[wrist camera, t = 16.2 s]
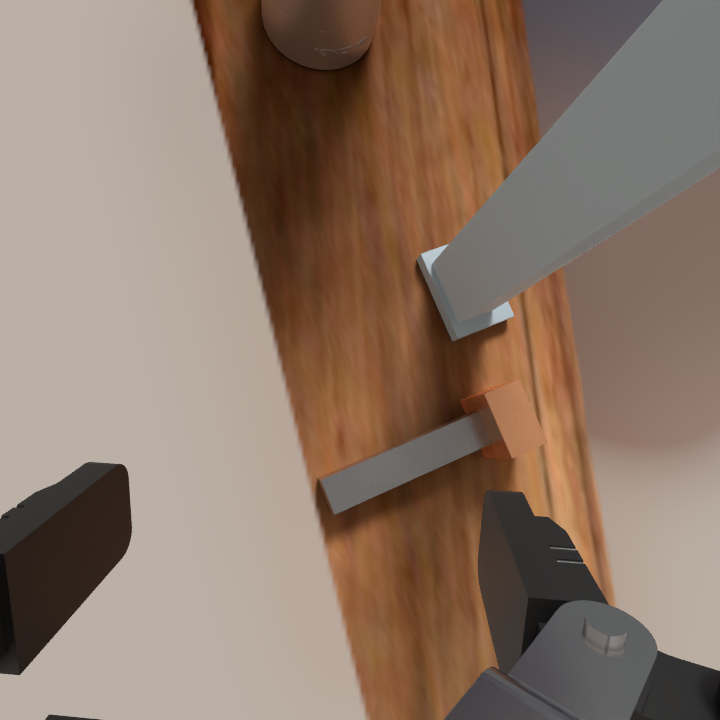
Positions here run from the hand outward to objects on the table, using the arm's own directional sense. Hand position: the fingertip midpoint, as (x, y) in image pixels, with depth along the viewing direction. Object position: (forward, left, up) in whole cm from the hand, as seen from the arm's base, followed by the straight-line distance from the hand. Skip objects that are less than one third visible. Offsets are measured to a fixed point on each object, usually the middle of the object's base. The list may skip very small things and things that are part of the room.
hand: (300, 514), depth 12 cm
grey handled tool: (+3, +10, -25) cm, 27 cm away
